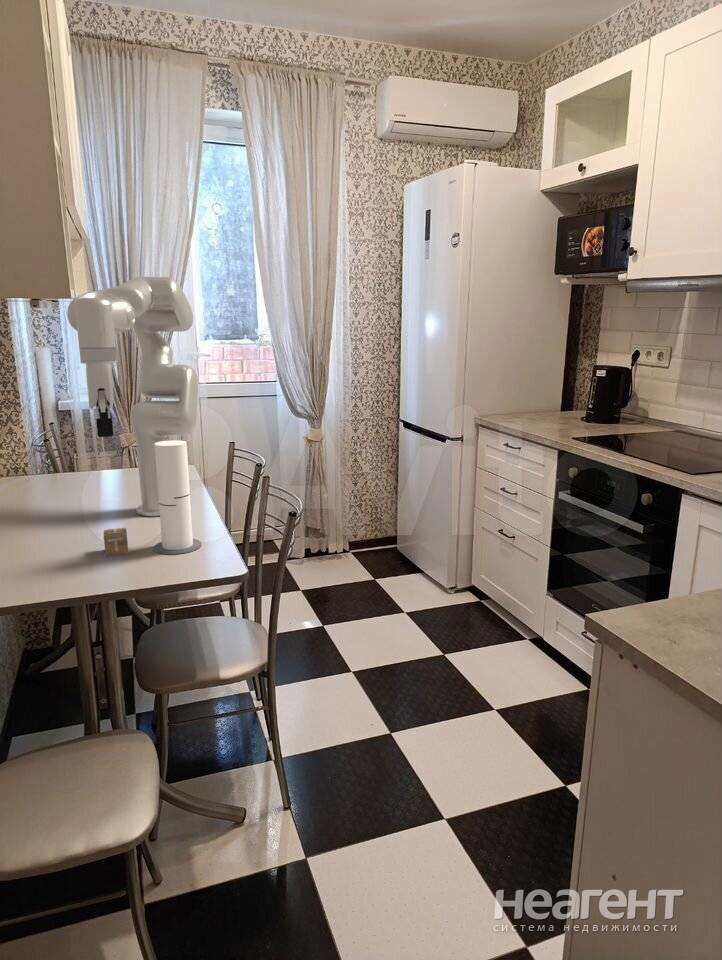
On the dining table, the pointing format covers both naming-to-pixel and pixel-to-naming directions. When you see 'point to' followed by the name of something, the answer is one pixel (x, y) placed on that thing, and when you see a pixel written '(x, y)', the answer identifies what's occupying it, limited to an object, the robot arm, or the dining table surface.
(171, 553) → the charcoal mat
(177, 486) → the cylindrical container
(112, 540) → the wooden letter cube
